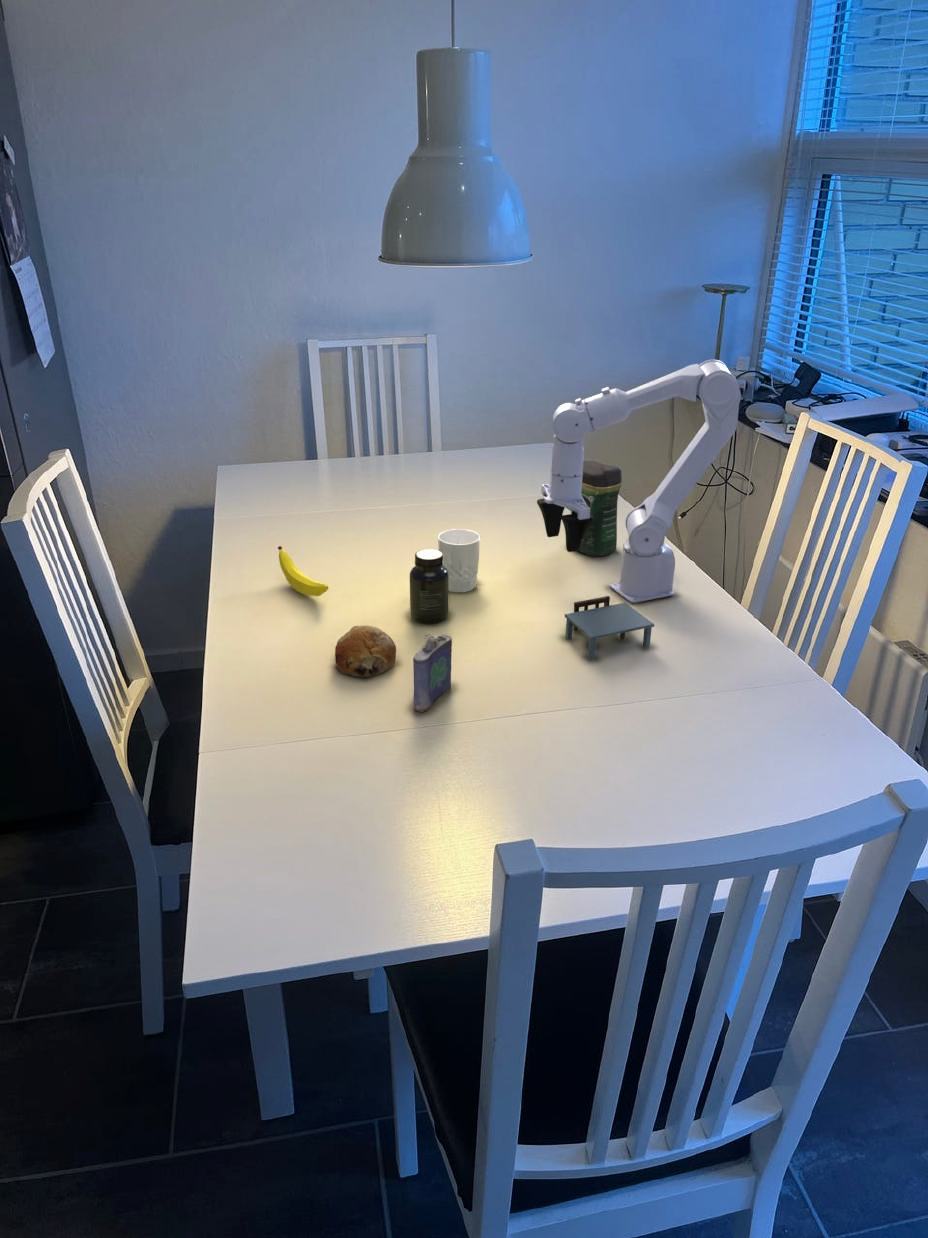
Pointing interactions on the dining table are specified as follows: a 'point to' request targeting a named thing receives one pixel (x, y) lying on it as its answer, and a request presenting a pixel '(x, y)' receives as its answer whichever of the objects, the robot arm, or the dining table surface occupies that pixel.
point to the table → (608, 624)
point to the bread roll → (365, 651)
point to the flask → (432, 671)
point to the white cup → (460, 558)
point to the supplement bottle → (429, 588)
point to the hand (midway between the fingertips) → (562, 543)
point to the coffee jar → (600, 506)
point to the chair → (595, 602)
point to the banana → (299, 577)
